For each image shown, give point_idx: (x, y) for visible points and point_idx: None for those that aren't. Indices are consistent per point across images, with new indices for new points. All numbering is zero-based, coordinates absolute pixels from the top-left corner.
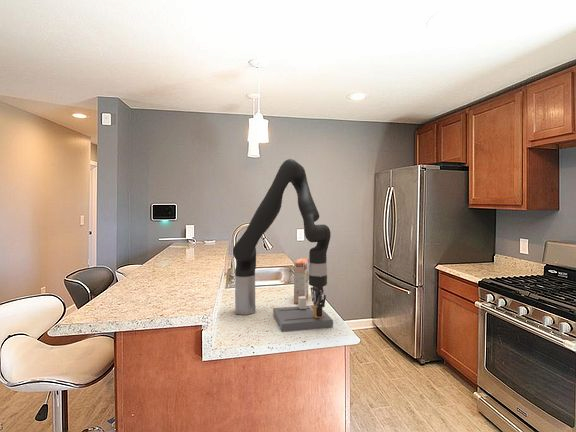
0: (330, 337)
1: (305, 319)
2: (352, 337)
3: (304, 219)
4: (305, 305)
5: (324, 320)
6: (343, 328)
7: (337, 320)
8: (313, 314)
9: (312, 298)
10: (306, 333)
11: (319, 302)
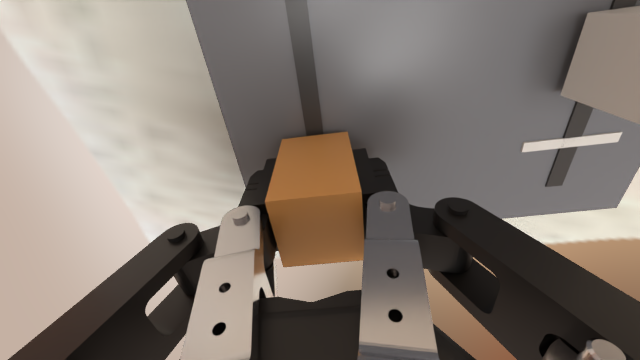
0: (112, 171)
1: (272, 36)
2: None
3: None
4: (595, 92)
5: None
6: None
7: None
8: (346, 135)
9: (466, 229)
10: (139, 17)
11: (85, 301)
